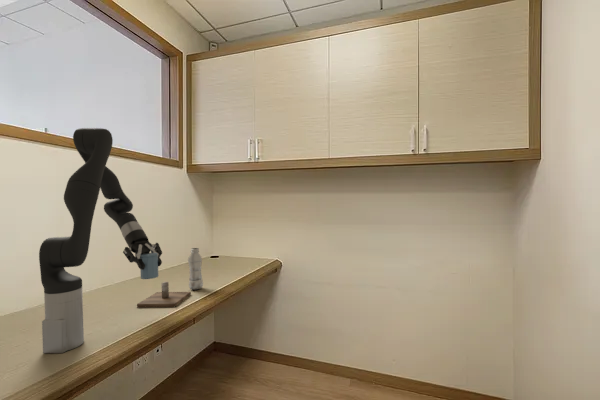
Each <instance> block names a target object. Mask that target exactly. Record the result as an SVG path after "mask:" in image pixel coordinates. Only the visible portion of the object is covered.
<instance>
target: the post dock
mask: <svg viewBox="0 0 600 400" xmlns="http://www.w3.org/2000/svg"><path fill="white" fill-rule="evenodd" d="M169 288H170V287H169V281H162V282H161V291H157V292H155V293H153V294H151V295H150V296H148V297H146V298H145V299H143V300H141V301H140V302H137V303H136V308H137V309H140V308H175V307H174V306H176V307H177V306H179V305H180V304H181V303H182V302H184V301H185V300H186V299H188V298H189V297H190V296H191V295H192V294H191V293H192V291H169V290H170V289H169ZM183 300H184V301H183ZM179 303H180V304H179ZM178 304H179V305H178Z"/></svg>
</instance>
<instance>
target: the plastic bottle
mask: <svg viewBox="0 0 600 400" xmlns="http://www.w3.org/2000/svg"><path fill="white" fill-rule="evenodd" d="M190 253H191V254H190V255H189V257H188V259H187V263H188V266H189V267H188V268H189V281H188V287H189V289H190V290H193V291H194V290H195V291H196V290H200V289H202V288H203V286H204V282H203V277H202V276H203V275H202V262H203V257H202V256H201V254H200V248H199V247H192V248H190Z"/></svg>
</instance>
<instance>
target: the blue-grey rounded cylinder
mask: <svg viewBox="0 0 600 400" xmlns="http://www.w3.org/2000/svg"><path fill="white" fill-rule="evenodd" d="M140 259H142V261H143V263H144V264H145V268H144V270H141V269H140V268H139V269H140V279H142V280H150V279H155V278H158V277H159V266H158V253H151V252H149V253H146V254H141V258H140Z"/></svg>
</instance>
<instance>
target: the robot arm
mask: <svg viewBox="0 0 600 400" xmlns="http://www.w3.org/2000/svg"><path fill="white" fill-rule="evenodd" d="M72 135H73V136H72V140H73V144H74V146H75V149H76V150H77V153H78V154H79V156H80V157H81V158H82V161H83V162H84V163H83V165H81V166H80V167H79V168H78V169H77V170H76V171H74V173H72V174H71V175H70V177H69V178H68V181H67V182H66V186H65V190H64V194H63V201H64V203H65V206H66V209H67V210H68V212H69V214H70V216H71V218H72V221H73V227H72V233H71V235H70V236H57V237H56V236H55V237H48V238H46V239H45V240H43V242H41V245H40V247H39V252H38V260H39V261H38V263H39V270H40V281H41V284H42V286H43V296H44V297H43V298H44V319H43V320H41V329H42V331H41V332H42V354H63V353H65V352H67V351H70V350H73V349H76V348H78V347H80V346H81V345H82V344H83V343H84V342H85V337H84V334H85V333H84V332H85V331H84V330H85V329H84V304H83V303H84V302H83V301H84V299H83V280H82V278H81V277H80V276H78V275H74V274H71V273H69V272H68V271H67V270H66V269H65V268H72V267H74V268H76V267H80V266H82V265H83V263H84V262H85V261H86V259H87V257H88V253H89V247H90V239H91V232H92V224H93V219H94V214H95V210H96V205H97V203H98V199H99V194H100V191H101V193H102V195H103V197H104V198H105V199H106V200H109V201H106V202H105V204H104V205H103V211H104V212H105V214H106V215H107V216H108V217H109V218H110V219H111V220H113V221H114V223H116V224H117V227H118V228H119V230H120V232H121V235H122V237H123V239H124V240H125V242H126V245H127V246H125V247H124V249H123V252H122V253H123V254H124V256H125V258H126V259H127V260H128V262H129V263H135V264H136V265H137V267H138V268H139V269H141V270H144V268H145V264H144V263H143V261H142V259H140V258H141V254H146V253H158V267H160V266H161V265H162V263H163V261H162V259H161V256H162V254H163V251H162V249H161V246H160V244H159V242H155V243H153V244H152V243H151V242H150V241H149V238H148V236H147V234H146V232H145V231H144V229H143V227H142V225H140V223H139V222H138V220H137V218H136V216H135V215H134V214H133V213H131V211H132V210H133V207H134V204H133V202H132V201H131V199H130V198H129V197H128V196H127V195H126V194H125V192H124V190H123V189H122V185H121V183H120V181H119V178H118V176H117V175H116V174H115V173H114V172H113V171H112V170H111V169H110V168H109V167H108V166H107V164H108V159H109V157H110V154H111V152H112V148H113V140H114V139H113V135H112V133H111V131H110V130H109V129H107V128H101V127H100V128H99V127H96V128H95V127H82V128H76V129H75V131H74V132H73V134H72ZM141 270H140V271H141Z"/></svg>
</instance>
